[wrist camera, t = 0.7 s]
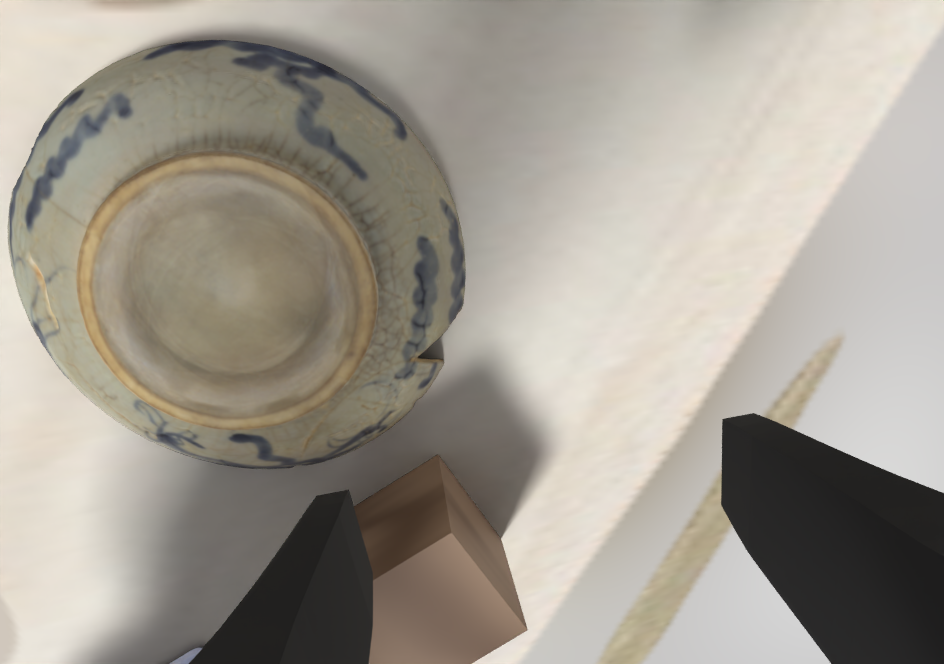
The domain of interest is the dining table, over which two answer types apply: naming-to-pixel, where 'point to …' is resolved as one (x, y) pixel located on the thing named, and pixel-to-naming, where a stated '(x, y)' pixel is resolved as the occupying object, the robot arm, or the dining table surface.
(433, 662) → the walnut block
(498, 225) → the dining table surface
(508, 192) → the dining table surface
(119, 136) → the decorative bowl
